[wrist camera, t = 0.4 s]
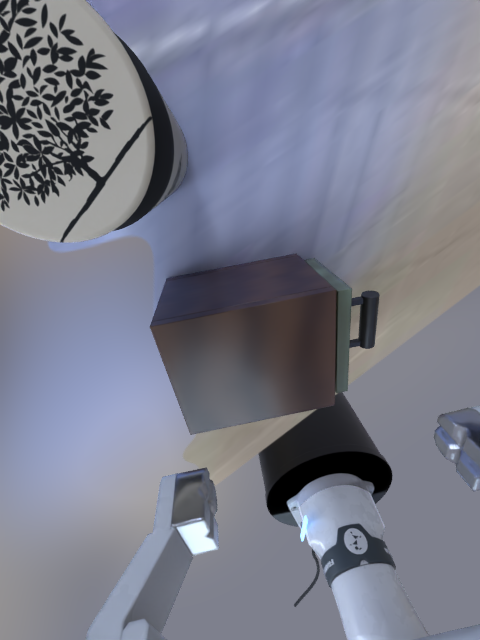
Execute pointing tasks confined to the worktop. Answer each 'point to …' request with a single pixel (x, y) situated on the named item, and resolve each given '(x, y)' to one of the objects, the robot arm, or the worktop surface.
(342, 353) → the drawer
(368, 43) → the worktop surface
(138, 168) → the travel mug
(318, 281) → the storage box
